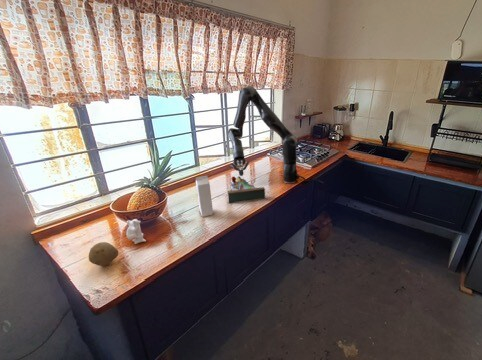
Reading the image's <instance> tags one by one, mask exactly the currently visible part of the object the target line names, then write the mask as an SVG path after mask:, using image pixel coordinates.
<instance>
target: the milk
mask: <svg viewBox="0 0 482 360" xmlns="http://www.w3.org/2000/svg"><path fill="white" fill-rule="evenodd" d="M195 187H196V193H197V200H198V207H199V213H200V215H201V217H202V218H203V217H207V216H212V215H214V208H213V201H212V191H211V185H210V181H209V177H208V175H203V176H197V177H195Z"/></svg>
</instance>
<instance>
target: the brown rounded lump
mask: <svg viewBox="0 0 482 360" xmlns="http://www.w3.org/2000/svg"><path fill="white" fill-rule="evenodd" d="M118 256H119V250H118V249H117V248H116V247H115V246H114V245H112V244H111V243H110V242H107V241H101V242H98V243H95V244H94V245H93V246H92V247H91V248H90V250H89V252H88V261H89V262H90V263H91V264H93V265H96V266H99V267H107V266H109V265H110V264H111V263H112V262H113V261H114V260H116V258H118Z"/></svg>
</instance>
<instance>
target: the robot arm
mask: <svg viewBox="0 0 482 360" xmlns="http://www.w3.org/2000/svg"><path fill="white" fill-rule="evenodd" d="M250 102H251V103H252V104H253V105H254V106H255V108H256V109H257V112H258V114H259V116H260V119H261V120H262V122H263V123H264V124H265V125H266V126H267V128H269V129H270V130H271V131H272V132H274V133H276V135H278V136H279V137H280V138H281V140H282V182H283V183H284V184H289V185H291V184H295V183H297V182H298V180H299V179H300V178H301V179H302V180H304V181H305V182H306V183H309V182H313V181H316V182H319V183H321V184H323V185H324V184H325V182H324V181H321V180H319V179H316V178H314V179H309V180H307V179H306V177H304V176H303V175H302V176H301V175H300V174H299V173H298V169H297V145H298V139H297V137H296V136H295V135H294V134H293V133H292V132H291V131H290V130H289V129H288V128H287V127H286V125H285V124H284V123H283V122H282V120H281V119H280V118H279V117H278V116H277V114H276V113H275V112H274V111H273V110H272V108H270V106H269V105H268V104H267V103H266V101H264V99H263V98H262V96H261V94H260V93H259V92H258V90H257V89H256V88H255V87H254V86H253V85H247V86H244V87H242V88H240V90H239V94H238V100H237V108H236V113H235V116H234V119H233V123H232V125H233V127H229V129H228V130H227V136H228V139H229V140H230V143H231V148H232V157H233V162H232V163H230V167H231V168H232V169H234V170H235V171H237V172H238V176H239V177H243V176H244V175H245V174H244V171H245V170H246V169H247V168H248V167H249V164H250V162H249V161H247V160H246V157H245V152H244V148H243V141H242V138H243V136H244V134H243V133H244V132H243V131H244V130H243V129H244V124H245V122H246V117H247V107H248V105H249V103H250Z"/></svg>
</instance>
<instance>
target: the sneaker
mask: <svg viewBox="0 0 482 360" xmlns="http://www.w3.org/2000/svg"><path fill="white" fill-rule="evenodd" d="M230 180H231V181H230V189H231V191H235V190H243V189H252V188H256V186H254V185H252V184H250V183H249V182H248V181H247V180H246V179H245V178H241V176H240V175H238V176H237V177H235V176H231V178H230Z"/></svg>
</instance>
